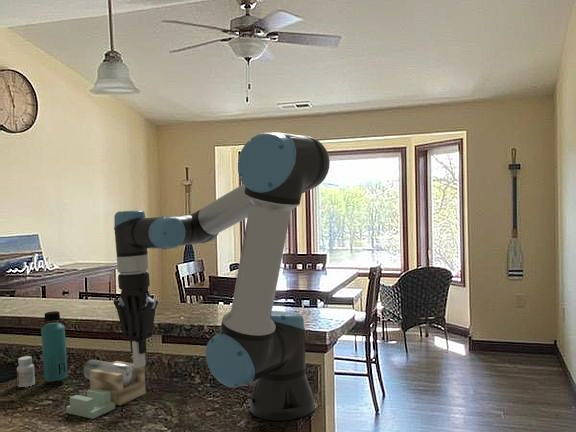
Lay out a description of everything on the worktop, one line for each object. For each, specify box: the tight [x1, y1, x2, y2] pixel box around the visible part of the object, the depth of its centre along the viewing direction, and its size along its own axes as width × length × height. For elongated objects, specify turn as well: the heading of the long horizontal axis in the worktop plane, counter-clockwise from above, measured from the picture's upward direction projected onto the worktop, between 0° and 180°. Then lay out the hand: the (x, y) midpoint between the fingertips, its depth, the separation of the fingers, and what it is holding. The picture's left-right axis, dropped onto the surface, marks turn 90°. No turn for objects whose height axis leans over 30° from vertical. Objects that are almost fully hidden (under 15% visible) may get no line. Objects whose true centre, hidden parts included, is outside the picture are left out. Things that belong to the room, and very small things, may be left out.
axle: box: [82, 359, 137, 386], centre depth 151 cm, size 14×5×5 cm, turn 61°
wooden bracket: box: [89, 360, 147, 406], centre depth 150 cm, size 10×9×8 cm
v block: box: [65, 388, 116, 420], centre depth 141 cm, size 9×7×4 cm
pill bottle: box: [16, 355, 36, 388], centre depth 162 cm, size 4×4×8 cm
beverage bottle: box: [40, 310, 69, 382], centre depth 163 cm, size 6×7×20 cm
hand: (139, 366), depth 146 cm, fingers closed
